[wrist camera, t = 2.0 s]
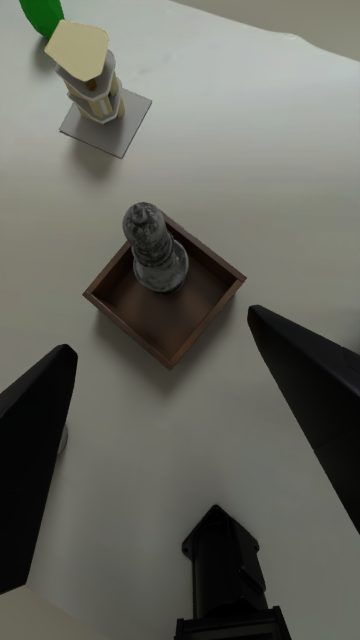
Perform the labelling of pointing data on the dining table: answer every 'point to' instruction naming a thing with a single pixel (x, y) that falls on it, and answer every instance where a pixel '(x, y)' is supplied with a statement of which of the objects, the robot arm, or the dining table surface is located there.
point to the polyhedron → (43, 15)
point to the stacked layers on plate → (94, 88)
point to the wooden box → (166, 298)
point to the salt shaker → (154, 250)
